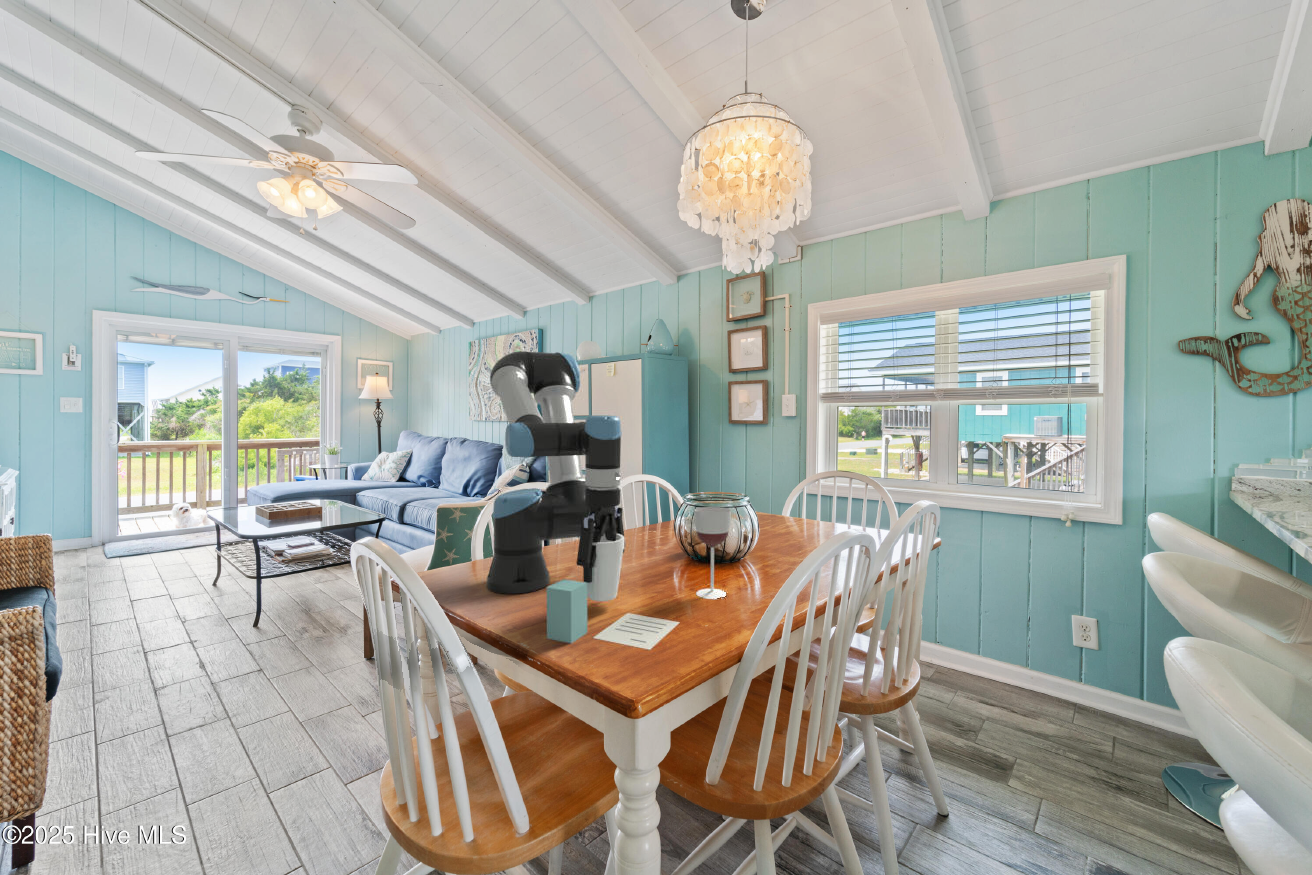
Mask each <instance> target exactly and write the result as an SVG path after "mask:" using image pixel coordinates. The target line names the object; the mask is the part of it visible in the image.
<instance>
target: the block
mask: <svg viewBox="0 0 1312 875" xmlns="http://www.w3.org/2000/svg"><path fill="white" fill-rule="evenodd" d="M587 633H588V597H587V583H585V582H584V581H578V580H570V579H560V580H559V581H556V582H555V583H552V584H550V585H549V586H548V585H547V586H546V638H547V639H548V640H554V641H557V642H562V643H566V644H567V643H568V644H574V642H576V641H577V640H579V639H580V638H583V636H584V635H586V634H587Z"/></svg>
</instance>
